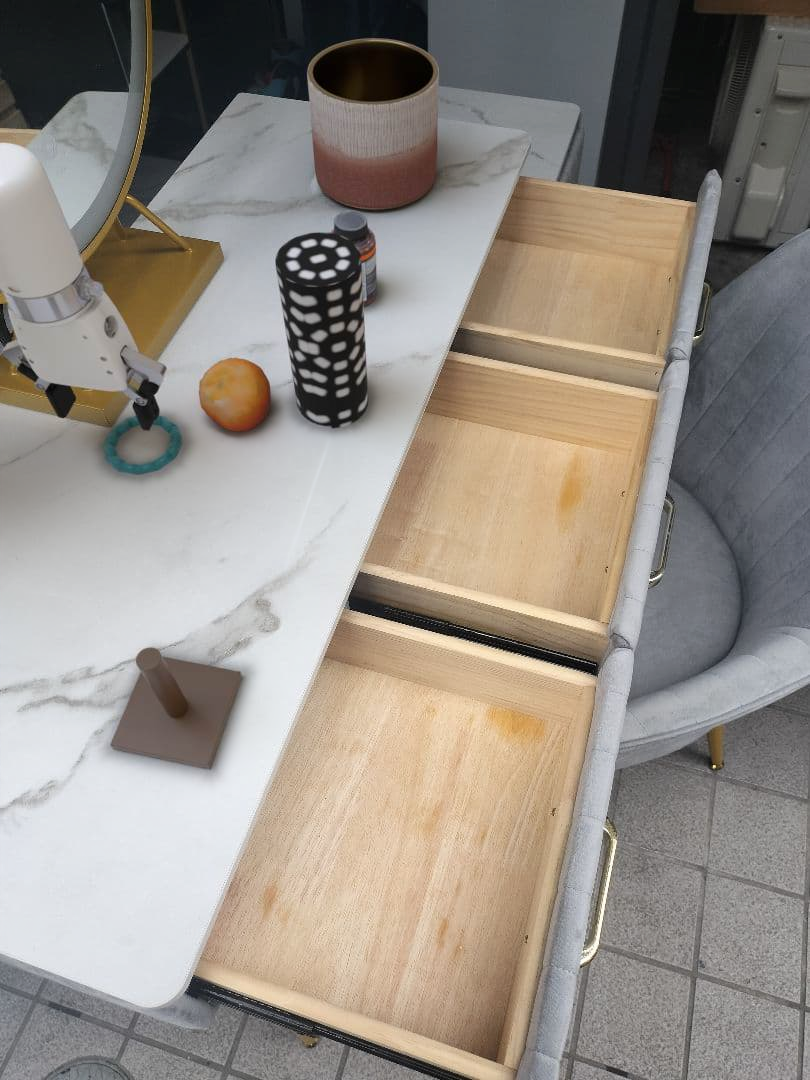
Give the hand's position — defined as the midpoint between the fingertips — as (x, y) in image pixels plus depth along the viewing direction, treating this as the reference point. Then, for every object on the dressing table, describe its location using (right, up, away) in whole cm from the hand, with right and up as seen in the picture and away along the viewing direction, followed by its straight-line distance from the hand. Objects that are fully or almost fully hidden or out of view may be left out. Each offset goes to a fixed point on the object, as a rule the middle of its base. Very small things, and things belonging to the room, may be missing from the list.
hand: (109, 414), depth 89 cm
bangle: (+3, -3, +2) cm, 5 cm away
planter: (+28, +40, +32) cm, 58 cm away
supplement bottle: (+26, +18, +18) cm, 36 cm away
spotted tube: (+24, +2, +7) cm, 25 cm away
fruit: (+13, +1, +6) cm, 14 cm away
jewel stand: (+12, -29, -15) cm, 35 cm away
